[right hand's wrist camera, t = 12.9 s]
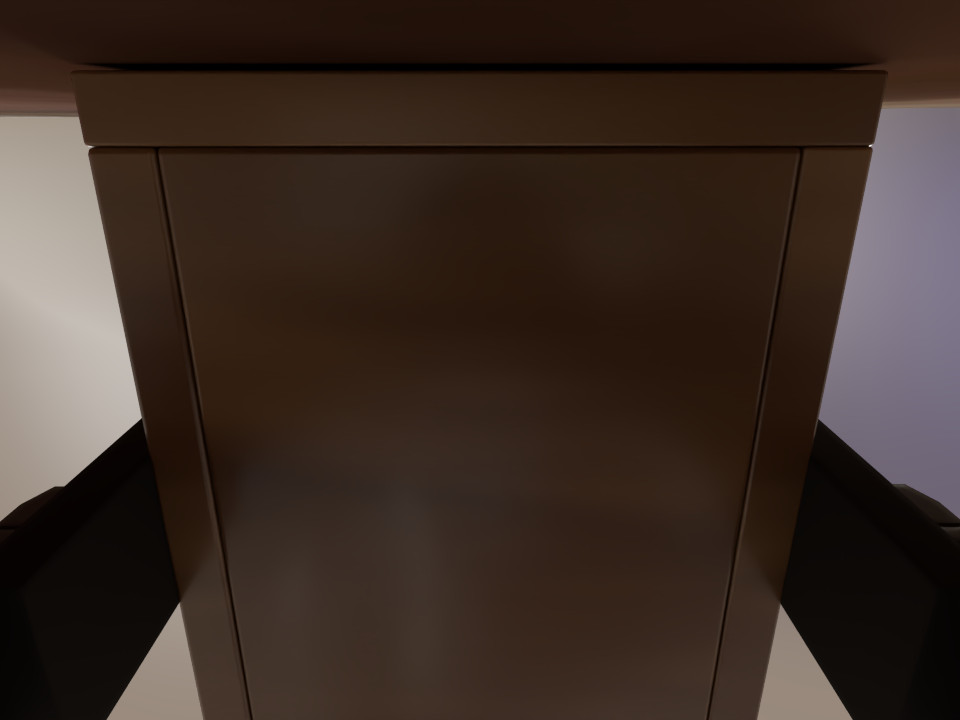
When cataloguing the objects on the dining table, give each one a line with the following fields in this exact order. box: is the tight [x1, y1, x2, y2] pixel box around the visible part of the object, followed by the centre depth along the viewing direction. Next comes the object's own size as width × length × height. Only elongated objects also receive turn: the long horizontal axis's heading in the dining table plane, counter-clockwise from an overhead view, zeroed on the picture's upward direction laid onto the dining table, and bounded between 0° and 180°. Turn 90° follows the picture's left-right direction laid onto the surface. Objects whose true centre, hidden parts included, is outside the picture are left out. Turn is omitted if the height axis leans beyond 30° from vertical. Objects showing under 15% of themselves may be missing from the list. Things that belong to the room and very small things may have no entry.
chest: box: [71, 70, 888, 720], centre depth 17 cm, size 15×10×11 cm, turn 0°
